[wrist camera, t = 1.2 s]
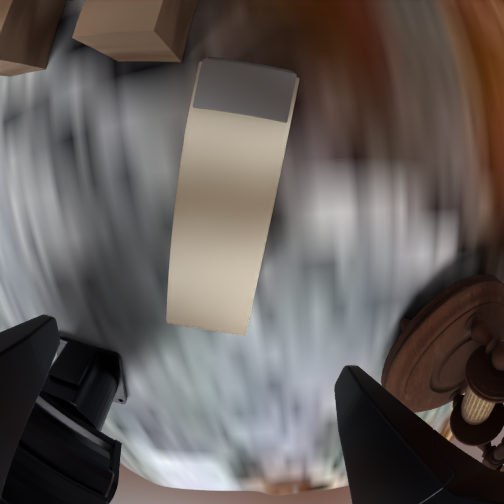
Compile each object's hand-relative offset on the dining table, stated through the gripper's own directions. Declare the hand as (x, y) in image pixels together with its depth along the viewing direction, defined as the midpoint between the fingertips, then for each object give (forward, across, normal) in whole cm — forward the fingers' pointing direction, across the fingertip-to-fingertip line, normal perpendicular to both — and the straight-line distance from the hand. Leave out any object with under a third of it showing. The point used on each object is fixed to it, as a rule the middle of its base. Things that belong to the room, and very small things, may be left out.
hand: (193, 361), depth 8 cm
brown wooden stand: (+11, -21, +6) cm, 24 cm away
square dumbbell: (+10, +11, -14) cm, 20 cm away
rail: (+11, 0, -3) cm, 11 cm away
